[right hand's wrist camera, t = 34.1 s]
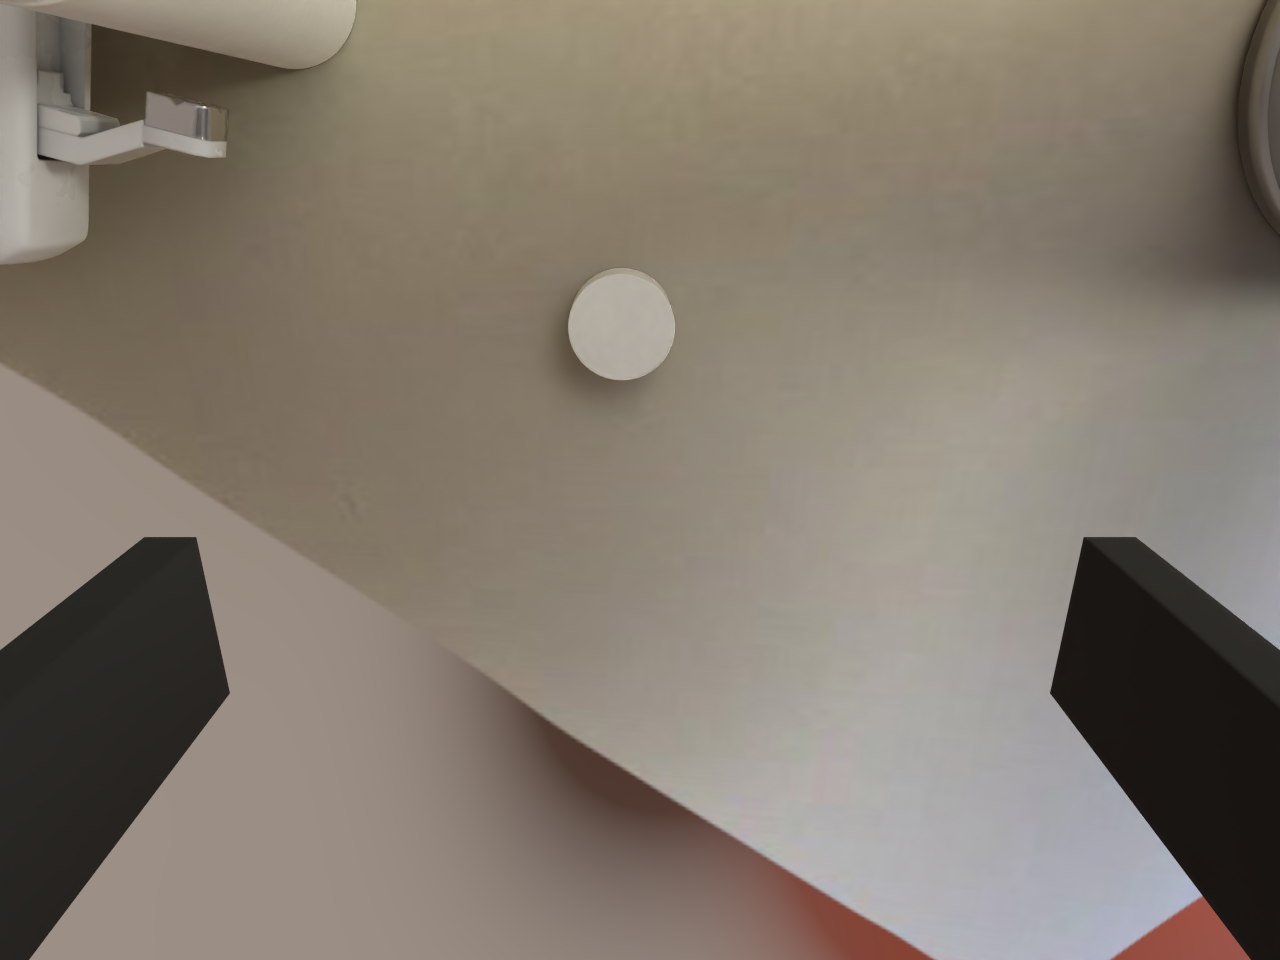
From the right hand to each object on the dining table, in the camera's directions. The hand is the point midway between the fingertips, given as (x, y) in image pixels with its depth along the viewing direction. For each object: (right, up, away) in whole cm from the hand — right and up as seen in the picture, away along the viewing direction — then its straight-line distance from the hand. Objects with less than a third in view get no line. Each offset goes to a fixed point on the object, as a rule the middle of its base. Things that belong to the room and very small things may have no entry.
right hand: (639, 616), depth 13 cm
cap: (-1, +8, +20) cm, 22 cm away
